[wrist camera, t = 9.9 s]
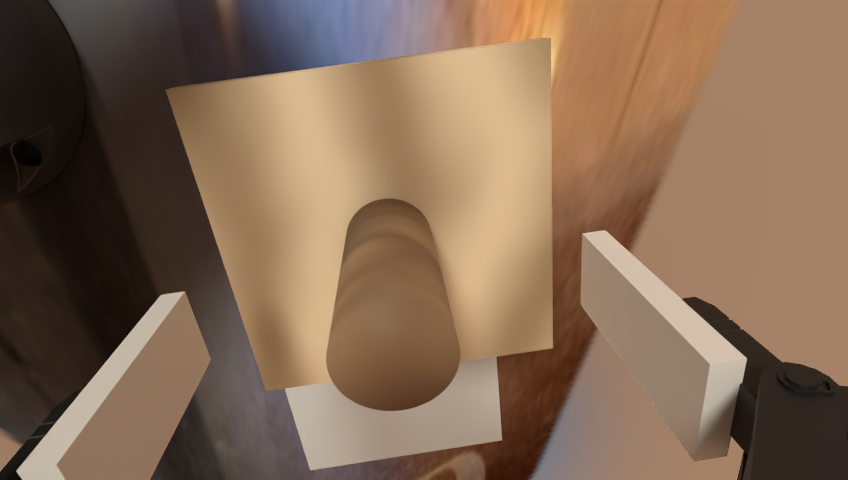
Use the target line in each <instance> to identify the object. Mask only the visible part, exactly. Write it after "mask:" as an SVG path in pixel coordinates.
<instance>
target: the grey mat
mask: <svg viewBox="0 0 848 480" xmlns="http://www.w3.org/2000/svg"><path fill="white" fill-rule="evenodd" d="M285 391H286V394H287V397H288V401H289V404H290V407H291V410H292V413H293V417H294V420H295V423H296V426H297V429H298V433H299V436H300V439H301V442H302V445H303V449H304V452H305V455H306V458H307V461H308V465H309V468H310V470H315V469H322V468H328V467H335V466H341V465H347V464H354V463H360V462H367V461H373V460H379V459H386V458H392V457H399V456H405V455H411V454H418V453H424V452H431V451H437V450H443V449H450V448H456V447H463V446H469V445H475V444H482V443H488V442H495V441H501V440H502V430H501V416H500V401H499V387H498V372H497V358H496V357H491V358H484V359H477V360H471V361H464V362H460V364H459V367H458V371H457V373H456V375H455V377H454V379H453V380H452V382H451V383H450V385H449V386H448V387H447V388H446V389H445V390H444V391H443V392H442V393H441V394H440V395H438V396H437V397H436V398H434V399H433V400H431V401H429V402H427V403H425V404H423V405H420V406H418V407H414V408H411V409H406V410H400V411H381V410H375V409H370V408H367V407H364V406H361V405H359V404H357V403H355V402H353V401H352V400H350V399H348V398H347V397H346V396H344V395H343V394H342V393H341V392H340V391H339V390H338V389H337V387H336V386H335V385H334V383H333V382H325V383H319V384H312V385H305V386H299V387H292V388H286V389H285Z"/></svg>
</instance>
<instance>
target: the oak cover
mask: <svg viewBox="0 0 848 480" xmlns="http://www.w3.org/2000/svg"><path fill="white" fill-rule="evenodd" d="M166 93H167V96H168V99H169V102H170V105H171V108H172V111H173V114H174V117H175V120H176V123H177V126H178V129H179V132H180V135H181V138H182V141H183V144H184V147H185V150H186V153H187V156H188V159H189V162H190V165H191V168H192V171H193V174H194V177H195V180H196V183H197V186H198V189H199V192H200V195H201V198H202V201H203V204H204V207H205V210H206V213H207V216H208V219H209V222H210V225H211V228H212V231H213V234H214V237H215V239H216V242H217V245H218V248H219V251H220V254H221V257H222V260H223V263H224V266H225V269H226V272H227V275H228V278H229V281H230V284H231V287H232V290H233V293H234V296H235V299H236V302H237V305H238V308H239V311H240V314H241V317H242V320H243V323H244V326H245V329H246V332H247V335H248V338H249V341H250V344H251V347H252V350H253V353H254V356H255V359H256V362H257V365H258V368H259V371H260V374H261V377H262V380H263V383H264V386H265V389H266V391H272V390H279V389H286V388H292V387H299V386H305V385H312V384H319V383H325V382H333V383H334V385H335V386H336V387H337V389H338V390H339V391H340V392H341V393H342V394H343V395H344V396H346V397H347V398H348V399H350V400H352V401H353V402H355V403H357V404H359V405H361V406H364V407H367V408H370V409H375V410H381V411H400V410H406V409H411V408H414V407H418V406H420V405H423V404H425V403H427V402H429V401H431V400H433V399H434V398H436V397H437V396H438V395H440V394H441V393H442V392H443V391H444V390H445V389H446V388H447V387H448V386H449V385H450V383H451V382H452V380H453V379H454V377H455V375H456V373H457V371H458V367H459V364H460V362H464V361H471V360H477V359H484V358H491V357H497V356H504V355H511V354H517V353H524V352H530V351H537V350H544V349H550V348H553V294H552V144H551V38H538V39H530V40H523V41H515V42H508V43H500V44H493V45H485V46H478V47H470V48H463V49H455V50H447V51H440V52H432V53H425V54H417V55H410V56H402V57H395V58H387V59H380V60H372V61H365V62H357V63H350V64H342V65H335V66H327V67H320V68H312V69H305V70H297V71H290V72H282V73H275V74H267V75H260V76H252V77H245V78H237V79H230V80H222V81H215V82H207V83H200V84H192V85H185V86H177V87H173V88H170V89H166Z"/></svg>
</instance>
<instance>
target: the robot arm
mask: <svg viewBox="0 0 848 480" xmlns="http://www.w3.org/2000/svg"><path fill="white" fill-rule="evenodd" d="M84 116H85V95H84V87H83V80H82V76H81V71H80V68H79V64H78V61H77V58H76V55H75V52H74V50H73V47H72V45H71V43H70V40H69V38H68V36H67V34H66V32H65V30H64V28H63V26H62V25H61V23H60V21H59V20H58V18H57V16H56V15H55V13H54V12H53V10H52V9H51V7H50V6H49V4H48V3H47V1H46V0H0V207H1V206H3V205H6V204H8V203H11V202H13V201H15V200H17V199H19V198H21V197H23V196H26V195H28V194H30V193H32V192H34V191H36V190H38V189H40V188H41V187H43V186H45V185H46V184H47V183H49V182H50V181H51V180H53V179H54V178H55V177H56V176H57V175H58V174H59V173H60V172H61V171H62V170H63V169H64V168H65V166H66V165H67V164H68V162H69V161H70V159H71V158H72V156H73V154H74V152H75V150H76V148H77V146H78V143H79V141H80V137H81V134H82V130H83V124H84ZM581 306H582V307H583V308H584V310H585V311H586V313H587V314H588V315H589V317H590V318H591V320H592V321H593V322H594V324H595V325H596V326H597V328H598V329H599V331H600V332H601V333H602V335H603V336H604V338H605V339H606V340H607V341H608V343H609V344H610V346H611V347H612V349H613V350H614V351H615V353H616V354H617V355H618V357H619V358H620V360H621V361H622V362H623V364H624V365H625V367H626V368H627V369H628V371H629V372H630V373H631V375H632V376H633V378H634V379H635V380H636V382H637V383H638V385H639V386H640V387H641V389H642V390H643V391H644V393H645V394H646V396H647V397H648V398H649V400H650V401H651V403H652V404H653V405H654V407H655V408H656V409H657V411H658V412H659V414H660V415H661V416H662V418H663V419H664V421H665V422H666V423H667V425H668V426H669V427H670V429H671V430H672V432H673V433H674V434H675V436H676V437H677V439H678V440H679V441H680V443H681V444H682V445H683V447H684V448H685V450H686V451H687V452H688V454H689V455H690V457H691V458H692V459H693V461H699V460H705V459H712V458H718V457H724V456H727V454H728V449H729V444H730V439H731V436H732V438H733V439H734V440H735V441H736V442H737V443H738V444H739V446H740V447H741V448H742V449H743V450H744V452H743V457H742V462H741V466H740V470H739V475H738V479H737V480H848V386H839V385H838V384H837V383H835V382H834V381H833V380H832V379H831V378H830V377H829V376H827V375H825V374H823V373H821V372H820V371H818V370H816V369H813V368H810V367H807V366H804V365H801V364H795V363H788V362H781V361H780V360H779V359H778V358H776V357H775V356H774V355H773V354H772V353H770V352H769V351H768V350H767V349H766V348H764V347H763V346H762V345H761V344H760V343H758V342H757V341H756V340H755V339H754V338H752V337H751V336H750V335H749V334H747V333H746V332H745V331H744V330H741V329H740V327H739V326H738V325H737V324H735V323H734V322H733V321H732V320H729V318H728V317H727V316H726V315H725V314H723V313H722V312H721V311H720V310H719V309H717V308H716V307H715V306H714V305H712V304H709V303H707V302H705V301H703V300H701V299H699V298H696V297H690V298H684V299H680V298H679V297H678V296H677V295H676V294H675V293H674V292H673V291H672V290H671V289H669V288H668V287H667V286H666V285H665V284H664V283H663V282H662V281H661V280H660V279H658V278H657V277H656V276H655V275H654V274H653V273H652V272H650V270H648V269H647V268H646V267H645V266H644V265H643V264H642V263H641V262H640V261H639V260H637V259H636V258H635V257H634V256H633V255H632V254H631V253H630V252H629V251H627V250H626V249H625V248H624V247H623V246H622V245H621V244H620V243H619V242H617V241H616V240H615V239H614V238H613V237H612V236H611V235H610V234H609V233H608V232H606V231H605V230H604V231H597V232H590V233H583V234H582V270H581ZM210 361H211V358H210V356H209V353H208V350H207V348H206V345H205V342H204V340H203V337H202V335H201V332H200V329H199V327H198V324H197V322H196V319H195V316H194V314H193V311H192V309H191V306H190V303H189V301H188V298H187V296H186V293H185V291H184V292H177V293H170V294H163V295H160V297H159V298H158V299H157V300H156V301H155V303H154V304H153V305H152V306H151V308H150V309H149V310H148V311H147V312H146V314H145V315H144V316H143V317H142V319H141V320H140V321H139V322H138V323H137V325H136V326H135V327H134V328H133V329H132V331H131V332H130V333H129V334H128V336H127V337H126V338H125V339H124V340H123V342H122V343H121V344H120V345H119V346H118V348H117V349H116V350H115V351H114V353H113V354H112V355H111V356H110V357H109V359H108V360H107V361H106V362H105V364H104V365H103V366H102V367H101V368H100V370H99V371H98V372H97V373H96V374H95V376H94V377H93V378H92V379H91V381H90V382H89V383H88V384H87V385H86V387H85V388H84V389H83V390H78V391H76V392H74V393H73V394H72V395H70V396H69V397H68V398H66V399H65V400H64V401H63V402H61V403H60V404H59V405H57V406H56V407H55V408H54V410H53V411H52V412H51V413H50V414H49V415H48V417H47V418H46V419H45V420H44V421H43V422H42V423H43V424H42V426H39V427H38V428H37V429H36V431H35V432H34V433H33V434H32V435H31V439H30V440H27V441H26V442H25V443H24V445H23V446H22V447H21V448H20V449H19V450H18V452H17V453H16V454H15V455H14V457H12V459H11V460H10V461H9V462H8V463H7V465H6V466H5V467H4V468H3V469H2V470H1V472H0V480H150V479H151V477H152V475H153V473H154V471H155V469H156V467H157V465H158V463H159V461H160V459H161V457H162V455H163V453H164V451H165V449H166V447H167V445H168V443H169V441H170V439H171V437H172V436H173V434H174V432H175V430H176V428H177V426H178V424H179V422H180V420H181V418H182V416H183V414H184V412H185V410H186V408H187V406H188V404H189V402H190V400H191V398H192V396H193V394H194V392H195V390H196V388H197V386H198V385H199V383H200V381H201V379H202V377H203V375H204V373H205V371H206V369H207V367H208V365H209V363H210Z"/></svg>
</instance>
